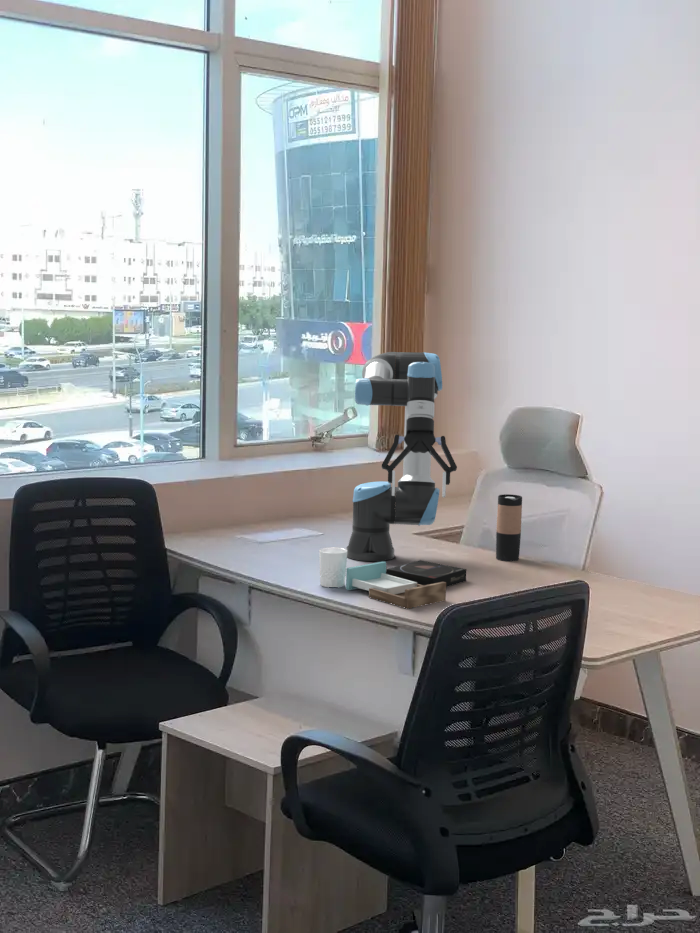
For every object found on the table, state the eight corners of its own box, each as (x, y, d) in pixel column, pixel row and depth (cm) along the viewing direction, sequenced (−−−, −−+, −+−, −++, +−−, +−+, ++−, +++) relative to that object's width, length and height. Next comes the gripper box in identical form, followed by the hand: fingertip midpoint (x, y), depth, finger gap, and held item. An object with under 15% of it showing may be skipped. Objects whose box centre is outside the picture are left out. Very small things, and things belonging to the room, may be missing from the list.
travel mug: (501, 555, 372) (503, 493, 369) (523, 558, 368) (526, 496, 366) (491, 559, 366) (493, 496, 363) (513, 562, 362) (516, 499, 359)
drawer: (406, 589, 324) (407, 572, 324) (445, 600, 314) (446, 582, 313) (368, 597, 315) (369, 579, 314) (407, 608, 304) (408, 590, 303)
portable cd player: (418, 572, 347) (418, 559, 347) (466, 582, 336) (466, 569, 336) (384, 582, 334) (384, 568, 334) (433, 592, 324) (433, 578, 323)
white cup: (314, 582, 330) (315, 548, 328) (340, 581, 333) (341, 546, 331) (323, 589, 323) (324, 554, 321) (350, 587, 325) (351, 552, 324)
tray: (382, 582, 331) (383, 561, 330) (419, 592, 320) (420, 571, 319) (346, 589, 322) (346, 568, 321) (382, 600, 311) (383, 578, 310)
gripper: (374, 414, 314) (371, 492, 310) (467, 416, 313) (465, 494, 309) (374, 420, 321) (372, 496, 317) (465, 422, 320) (464, 499, 316)
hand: (418, 496), depth 313 cm, fingers open, 13 cm apart
